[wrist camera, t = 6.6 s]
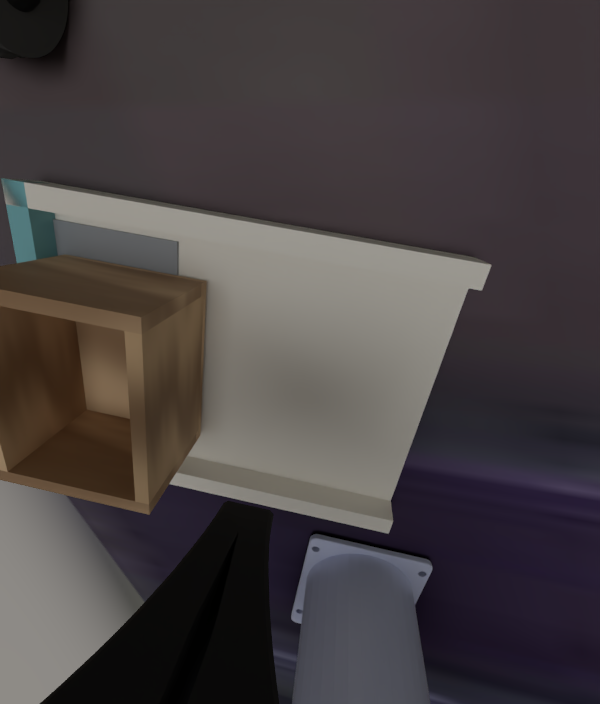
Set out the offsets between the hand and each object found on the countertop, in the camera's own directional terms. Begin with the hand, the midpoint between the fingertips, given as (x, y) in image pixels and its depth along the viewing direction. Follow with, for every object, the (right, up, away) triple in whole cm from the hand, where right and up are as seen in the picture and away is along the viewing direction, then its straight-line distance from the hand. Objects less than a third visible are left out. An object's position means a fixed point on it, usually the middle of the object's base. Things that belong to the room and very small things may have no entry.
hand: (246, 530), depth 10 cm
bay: (-2, +4, +9) cm, 10 cm away
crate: (-7, +5, +8) cm, 12 cm away
